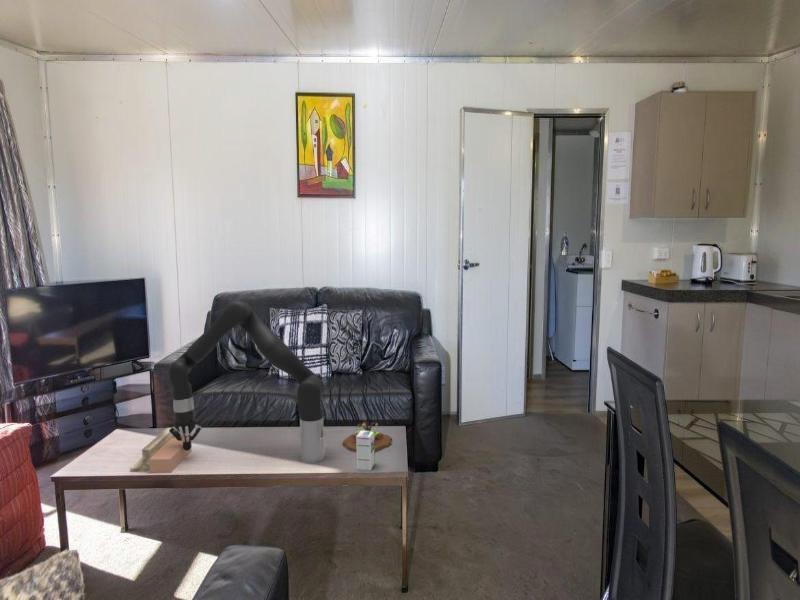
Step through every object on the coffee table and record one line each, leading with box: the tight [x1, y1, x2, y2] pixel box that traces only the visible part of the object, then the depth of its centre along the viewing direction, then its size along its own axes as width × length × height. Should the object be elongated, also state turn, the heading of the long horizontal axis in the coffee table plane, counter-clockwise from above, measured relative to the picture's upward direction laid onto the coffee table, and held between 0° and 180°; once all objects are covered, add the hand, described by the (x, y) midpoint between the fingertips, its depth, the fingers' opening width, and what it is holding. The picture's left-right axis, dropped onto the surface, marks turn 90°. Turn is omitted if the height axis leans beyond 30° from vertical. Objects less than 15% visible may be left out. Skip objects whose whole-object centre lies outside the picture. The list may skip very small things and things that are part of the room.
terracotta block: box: [149, 438, 192, 474], centre depth 203 cm, size 8×20×6 cm, turn 1°
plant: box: [342, 421, 393, 454], centre depth 220 cm, size 20×20×11 cm
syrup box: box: [356, 430, 376, 471], centre depth 197 cm, size 6×6×14 cm
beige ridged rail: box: [129, 427, 175, 473], centre depth 205 cm, size 8×22×9 cm, turn 1°
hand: (187, 449), depth 206 cm, fingers closed
